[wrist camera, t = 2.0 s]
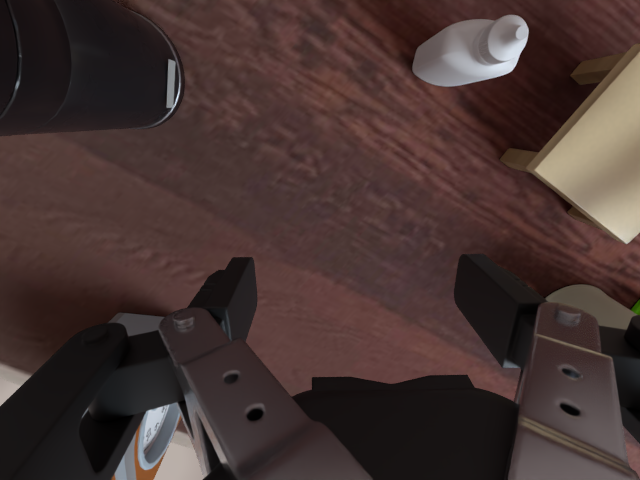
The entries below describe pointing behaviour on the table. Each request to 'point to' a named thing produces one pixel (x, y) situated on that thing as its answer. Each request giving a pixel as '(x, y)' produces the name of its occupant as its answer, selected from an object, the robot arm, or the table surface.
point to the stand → (597, 149)
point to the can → (594, 304)
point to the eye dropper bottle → (471, 51)
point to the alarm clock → (146, 418)
